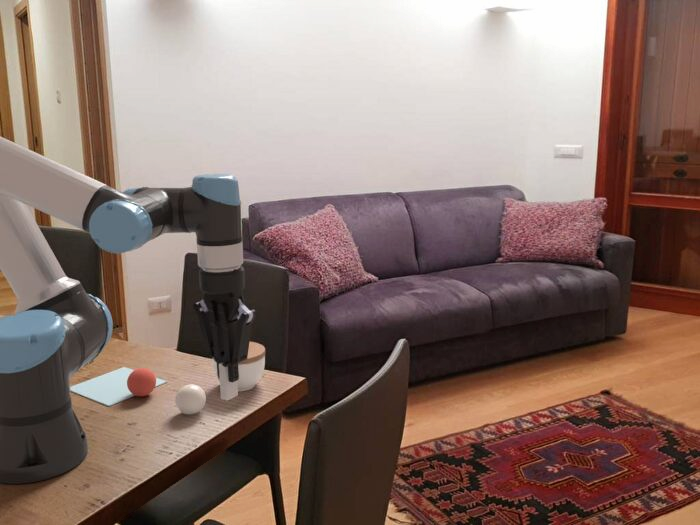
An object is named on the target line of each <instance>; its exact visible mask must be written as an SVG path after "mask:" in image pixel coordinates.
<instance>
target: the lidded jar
mask: <svg viewBox="0 0 700 525" xmlns="http://www.w3.org/2000/svg"><path fill="white" fill-rule="evenodd" d="M211 358H212V368H213V371H214V375H215V377H216V380H217V381H218V382H219V383H220V379H219V378H218V375H217V373H218V372H217V362H215V360H214V358H213V357H211ZM265 364H266V347H265V346H264V345H263V344H260V343H258V342H255V341H250V342H249V349H248V357H247V359H246V360H244V361H242V362H240V363H238V369H239V379H238V380H237V388H238V393H239V392H246V391H250V390H252V389H253V388H254V387H255V386H256V384H257V383H258V382H259V381H260V380H261V378H262V376H263V374H264V371H265Z"/></svg>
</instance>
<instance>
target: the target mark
mask: <svg viewBox="0 0 700 525" xmlns="http://www.w3.org/2000/svg"><path fill="white" fill-rule="evenodd" d="M134 370H135V369H131V368H129V367H127V366H123V367H120V368H118V369H115V370H113V371H110V372H107V373H104V374H101V375H99V376H96V377H93V378H91V379H88V380H85V381H82V382H79V383H78V384H74V385H70V392H71V393H74V394H77V395H79V396H82V397H84V398H86V399H90V400H92V401H94V402H97V403H99V404H102V405H103V406H106V407H112V406H114V405H116V404H119V403H122V402H123V401H125V400H128V399H131V398H133V397H137V396H136V395H134V394H132V393H131V392H130V391H129V389H128V387H127V379H128V377H129V375H130V374H131V373H132V372H133V371H134ZM167 383H168V381H167V380H164V379H161V378H158V377H156V386H155V388H157V387H160V386H161V385H164V384H167Z"/></svg>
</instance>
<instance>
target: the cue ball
mask: <svg viewBox="0 0 700 525" xmlns="http://www.w3.org/2000/svg"><path fill="white" fill-rule="evenodd" d="M206 401H207V396H206V393H205V391H204V389H203V388H202V387H201V386H199V385H197V384H193V383H191V384H186V385H184V386H182V387H181V388H180V389H178V391H177V393H176V395H175V405H176V408H177V410H179V411H180V412H181V413H183V414H185V415H196V414H198V413H199V412H201V411H202V410H203V409H204V407H205V405H206Z"/></svg>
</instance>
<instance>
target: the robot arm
mask: <svg viewBox="0 0 700 525" xmlns="http://www.w3.org/2000/svg"><path fill="white" fill-rule="evenodd" d="M191 180H192V181H191V182H192V184H191V186H189V187H148V186H143V187H137V188H135V187H134V188H127V189H125V190H124V191H120V190H118V189H116V188H113V187H112V186H110V185H107V184H105V183H103V182H101V181H99V180H97V179H94V178H92V177H90V176H88V175H86V174H83V173H81V172H79V171H77V170H75V169H72V168H70V167H68V166H66V165H64V164H62V163H59V162H57V161H55V160H53V159H51V158H48V157H46V156H44V155H42V154H40V153H38V152H36V151H33V150H31V149H29V148H27V147H24V146H23V145H20V144H18V143H16V142H14V141H11V140H9V139H7V138H4V137H3V136H0V271H1V273H2V274H3V276H4V278H5V280H6V281H7V283H8V285H9V286H10V288H11V289H12V291H13V294H14V295H15V296H16V298H17V304H16V308H15V311H14V314H11V315H10V314H8V315H5V316H3V317H0V483H2V484H7V485H8V484H10V485H11V484H13V485H17V484H18V485H19V484H20V485H21V484H31V483H35V482H41V481H44V480H49V479H52V478H55V477H58V476H59V475H62V474H64V473H67V472H68V471H71V470H73V469H74V468H75V467H77V466H78V465H80V464H81V463H82V462H83V461H84V459H85V458H86V457H87V454H88V452H89V447H88V446H89V445H88V438H87V435H86V433H85V431H84V429H83V426H82V424H81V422H80V421H79V419H78V417H77V414H76V412H75V411H74V409H73V402H72V394H71V393H72V392H71V391H70V387H71V384H70V378H71V377H72V376H74V374H75V373H77V372H78V371H79V370H80V369H82V368H83V367H84V366H85V365H87V364H89V363H88V362H89V361H91V360H93V359H95V360H96V358H97V357H98V356H99V355H100V354H101V353H102V352H103V350H104V349H105V348H106V347H107V345H108V343H109V342H110V340H111V339H112V338H111V337H112V335H113V328H114V327H113V326H114V325H113V324H114V322H113V318H112V314H111V312H110V310H109V307H108V306H107V305H106V304H105V303H104V301H102V299H100V298H99V297H97V296H93V295H92V294H90V293H87V292H86V290H85V288H84V287H83V284H82V283H81V282H80V280H77V279H73V278H72V277H71V278H70V277H68V276H67V275H66V273H65V272H64V270H63V267H61V264H60V263H59V261H58V259H57V257H56V256H55V254H54V252H53V250H52V248H51V247H50V244H49V243H48V241H47V239H46V238H45V236H44V233H43V232H42V231H41V229H40V227H39V226H38V225H39V224H38V223H37V222H36V219H35V218H34V216H33V215H32V212H31V210H30V209H29V207H31V208H33V209H36V210H38V211H40V212H42V213H44V214H46V215H49V216H51V217H53V218H55V219H57V220H60V221H63V222H64V223H65V224H69V225H71V226H72V227H76V228H77V229H80V230H81V231H84V232H86V233H88V234H90V236H91V239H92V240H93V241H94V243H95V244H96V245H97V246H98V247H99V248H100V249H101V250H103V251H105V252H108V253H110V254H123V253H128V252H132V251H134V250H137V249H139V248H142V247H143V246H144V245H145V244H146V243H148V242H150V241H152V240H155V239H156V238H158V237H160V236H162V235H164V234H178V233H181V234H182V233H187V234H188V233H189V234H191V233H195V235H196V253H197V254H196V255H197V266H199V268H200V269H199V270H198V278H199V289H200V291H201V292H202V293H203V295H202V299H201V300H199V301H198V302H195V303H193V304H192V307H193V310H194V312H195V314H196V315H197V318H198V323H199V327H200V330H201V335H202V339H203V343H204V347H205V348H204V349H205V352H206V356H207V357H208V358H212V357H213V358H214V360H215V362H217V372H218V373H217V375H218V378H219V379H220V382H219V388H220V390H219V391H220V399H221V400H223V401H227V402H228V401H229V400H232V399H233V398H235V397H238V396H239V392H238V388H237V380H238V379H239V369H238V363H240V362H242V361H244V360H246V359H247V357H248V349H249V342H251V334H252V327H253V322H254V320H255V318H256V316H257V311H256V310H255V309H251V310H250V309H249V308H248V307H247V305H245V299H244V296H243V291H244V288H245V285H246V284H245V283H246V282H245V280H246V278H245V269H244V268H245V267H244V266H242V265H243V264H244V250H243V234H242V208H241V207H242V200H241V197H240V188H239V187H240V186H239V181H238V179H237V177H236V176H234V175H232V174H229V173H228V174H227V173H214V174H212V173H211V174H210V173H209V174H200V175H199V174H198V175H195V176H193V178H192V179H191ZM28 206H29V207H28ZM213 358H212V359H213Z"/></svg>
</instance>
